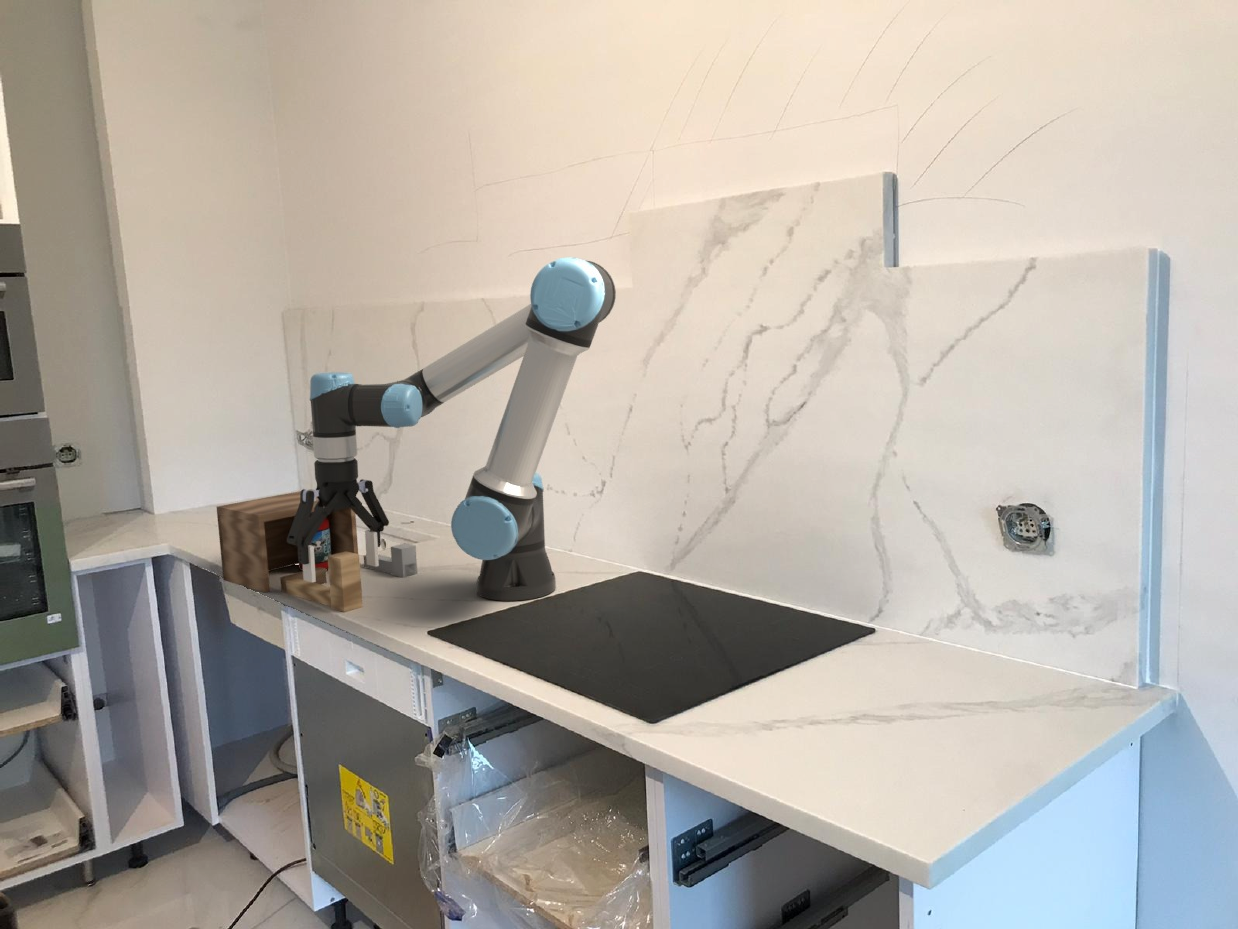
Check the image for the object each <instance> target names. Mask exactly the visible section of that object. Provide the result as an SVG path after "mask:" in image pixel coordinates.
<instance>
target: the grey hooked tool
mask: <svg viewBox="0 0 1238 929" xmlns="http://www.w3.org/2000/svg"><path fill="white" fill-rule="evenodd" d="M417 560H418V559H417V546H416V544H409V543H406V542H405V543H401V544H397V545H393V546H392V545H391V546H390V556H387V555H383V554H378V561H379V566H376V567H375V566H371V565H367V560H366V554H365V555H363V567H364V568H366V569H370V568H371V569H370V570H375V571H379V572H384V573H388V574H391V575H392V576H394V577H395V576H396V577H398V578H407V577H408V578H409V577H411V576H414V575H418V561H417Z"/></svg>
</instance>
